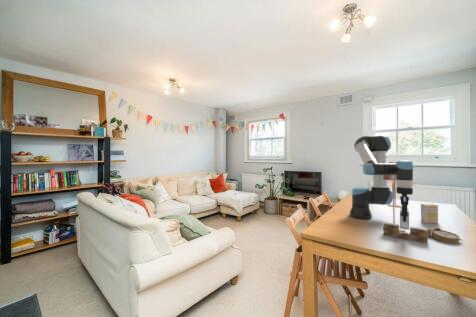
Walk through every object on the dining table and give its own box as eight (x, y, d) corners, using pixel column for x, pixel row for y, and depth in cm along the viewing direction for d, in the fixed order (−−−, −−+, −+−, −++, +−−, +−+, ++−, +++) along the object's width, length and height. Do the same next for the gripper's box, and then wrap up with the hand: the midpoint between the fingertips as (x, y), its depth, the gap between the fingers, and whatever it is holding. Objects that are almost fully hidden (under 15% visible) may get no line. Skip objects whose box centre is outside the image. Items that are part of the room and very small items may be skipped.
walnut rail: (383, 234, 126) (383, 223, 125) (383, 233, 128) (383, 222, 128) (427, 243, 113) (427, 230, 113) (427, 241, 115) (427, 229, 115)
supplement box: (432, 221, 149) (432, 203, 148) (438, 223, 144) (438, 205, 143) (420, 221, 149) (420, 203, 149) (425, 223, 145) (425, 205, 144)
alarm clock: (452, 240, 110) (420, 226, 124) (450, 248, 111) (419, 233, 125) (465, 237, 114) (433, 224, 128) (463, 245, 115) (431, 231, 129)
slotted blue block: (409, 229, 115) (409, 212, 115) (400, 228, 118) (400, 211, 117) (408, 225, 123) (408, 208, 123) (400, 223, 125) (400, 207, 125)
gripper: (413, 190, 109) (413, 231, 109) (412, 185, 126) (412, 220, 127) (395, 189, 113) (395, 228, 114) (396, 184, 131) (396, 218, 131)
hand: (404, 224), depth 120 cm, fingers closed on slotted blue block, 10 cm apart
